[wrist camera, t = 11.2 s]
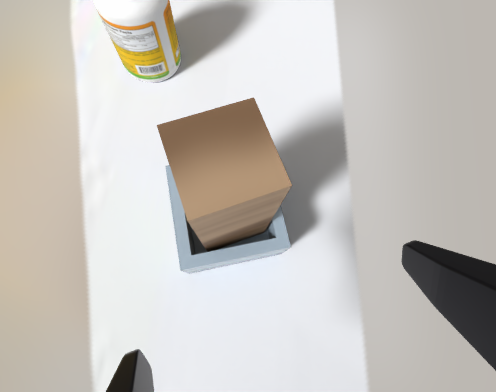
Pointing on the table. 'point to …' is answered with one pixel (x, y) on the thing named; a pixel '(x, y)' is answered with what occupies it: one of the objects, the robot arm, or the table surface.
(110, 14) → the supplement bottle
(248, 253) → the bin
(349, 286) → the table surface
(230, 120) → the walnut block
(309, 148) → the table surface
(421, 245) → the robot arm
